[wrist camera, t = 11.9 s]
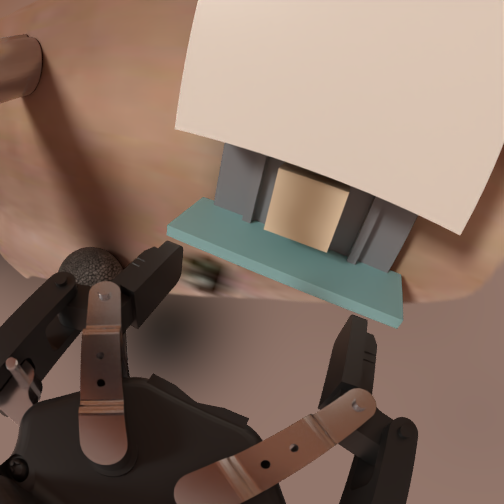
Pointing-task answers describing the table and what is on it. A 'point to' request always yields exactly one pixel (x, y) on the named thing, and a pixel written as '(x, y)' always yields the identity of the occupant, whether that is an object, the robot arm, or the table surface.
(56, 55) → the table surface
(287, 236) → the beech block
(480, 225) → the table surface
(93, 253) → the decorative ball
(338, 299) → the tray
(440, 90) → the box
